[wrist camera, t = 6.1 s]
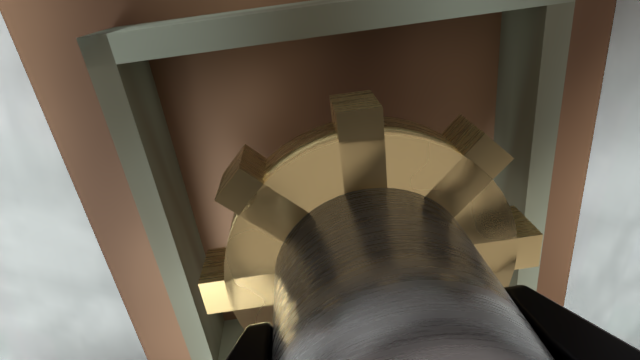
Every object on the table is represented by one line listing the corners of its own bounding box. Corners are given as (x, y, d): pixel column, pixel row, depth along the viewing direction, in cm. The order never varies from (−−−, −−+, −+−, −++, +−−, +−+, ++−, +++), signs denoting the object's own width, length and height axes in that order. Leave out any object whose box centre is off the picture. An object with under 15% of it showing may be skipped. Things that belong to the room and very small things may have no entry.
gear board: (602, -80, 11) (707, -99, 8) (537, 358, 18) (582, 426, 15) (19, -2, 11) (-70, 5, 8) (184, 411, 18) (167, 490, 15)
